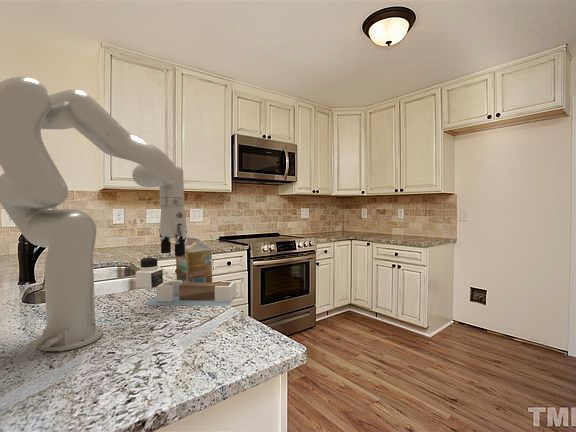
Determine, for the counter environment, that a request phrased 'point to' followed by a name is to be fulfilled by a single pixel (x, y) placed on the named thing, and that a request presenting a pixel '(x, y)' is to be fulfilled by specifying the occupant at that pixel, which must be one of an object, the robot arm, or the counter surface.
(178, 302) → the board
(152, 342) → the counter surface
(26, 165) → the robot arm
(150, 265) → the medicine bottle
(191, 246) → the milk carton
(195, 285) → the brown rectangular block
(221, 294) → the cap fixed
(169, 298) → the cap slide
